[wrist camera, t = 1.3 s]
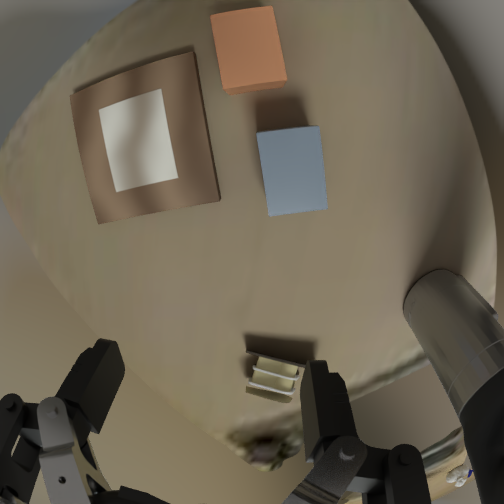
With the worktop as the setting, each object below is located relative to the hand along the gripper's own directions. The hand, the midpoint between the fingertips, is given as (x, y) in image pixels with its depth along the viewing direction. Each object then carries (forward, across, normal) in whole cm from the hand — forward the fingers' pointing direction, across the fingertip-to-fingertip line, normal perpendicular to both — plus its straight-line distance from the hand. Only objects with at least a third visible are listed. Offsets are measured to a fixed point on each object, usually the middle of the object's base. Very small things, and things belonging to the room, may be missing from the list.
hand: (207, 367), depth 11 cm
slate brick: (+20, -4, -6) cm, 21 cm away
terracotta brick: (+20, 0, -16) cm, 26 cm away
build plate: (+20, +10, -8) cm, 24 cm away
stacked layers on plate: (+21, -6, +20) cm, 29 cm away
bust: (+22, -98, +106) cm, 146 cm away
